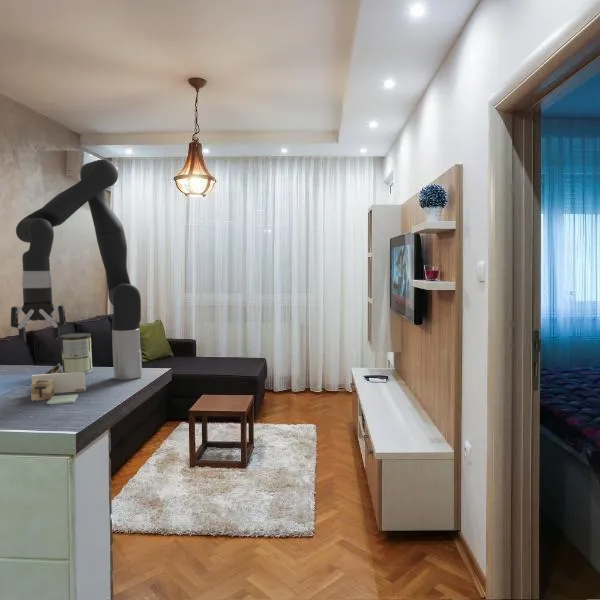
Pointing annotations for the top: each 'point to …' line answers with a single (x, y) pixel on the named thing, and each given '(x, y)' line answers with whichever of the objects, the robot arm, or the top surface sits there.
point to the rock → (54, 370)
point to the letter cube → (42, 389)
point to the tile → (63, 399)
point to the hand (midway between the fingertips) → (39, 340)
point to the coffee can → (76, 352)
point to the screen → (65, 381)
